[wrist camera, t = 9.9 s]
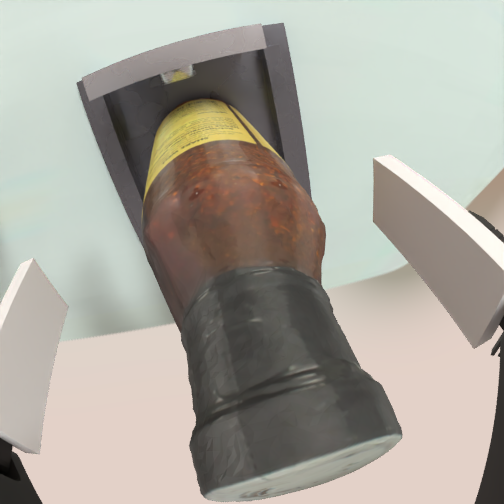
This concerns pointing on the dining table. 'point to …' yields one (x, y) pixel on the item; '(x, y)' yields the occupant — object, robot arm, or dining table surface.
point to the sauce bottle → (254, 313)
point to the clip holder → (190, 88)
